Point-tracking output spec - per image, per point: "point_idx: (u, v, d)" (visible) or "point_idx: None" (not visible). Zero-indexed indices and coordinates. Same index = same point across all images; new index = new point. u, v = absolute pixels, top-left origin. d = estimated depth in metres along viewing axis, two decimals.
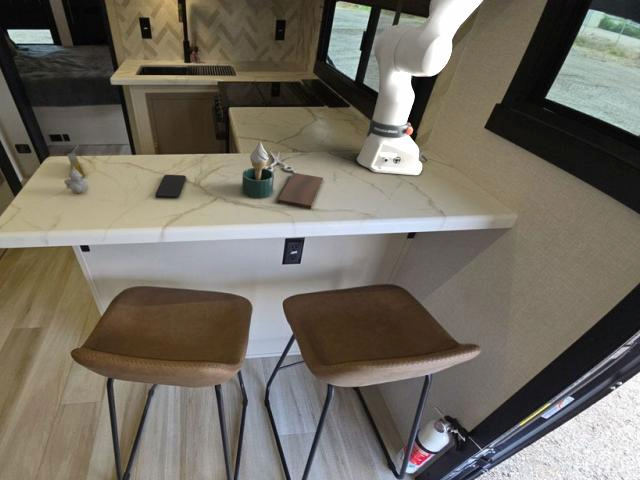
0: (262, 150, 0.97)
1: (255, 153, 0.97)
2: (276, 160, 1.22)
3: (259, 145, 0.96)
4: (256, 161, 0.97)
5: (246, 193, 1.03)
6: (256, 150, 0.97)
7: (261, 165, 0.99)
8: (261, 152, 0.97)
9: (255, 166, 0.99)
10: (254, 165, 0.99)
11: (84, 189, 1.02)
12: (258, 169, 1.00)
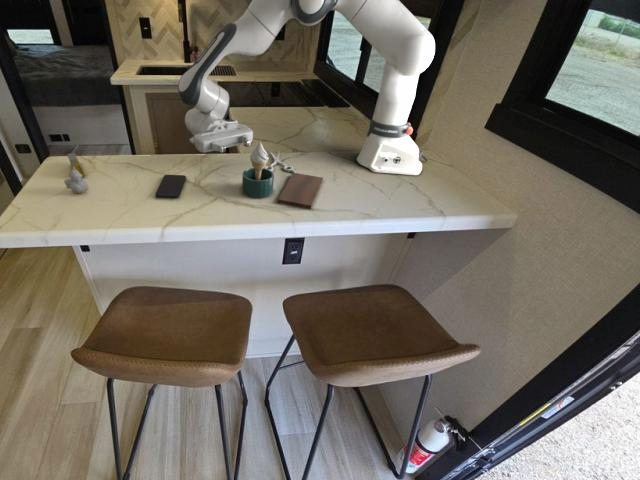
0: (262, 150, 0.97)
1: (255, 153, 0.97)
2: (276, 160, 1.22)
3: (259, 145, 0.96)
4: (256, 161, 0.97)
5: (246, 193, 1.03)
6: (256, 150, 0.97)
7: (261, 165, 0.99)
8: (261, 152, 0.97)
9: (255, 166, 0.99)
10: (254, 165, 0.99)
11: (84, 189, 1.02)
12: (258, 169, 1.00)
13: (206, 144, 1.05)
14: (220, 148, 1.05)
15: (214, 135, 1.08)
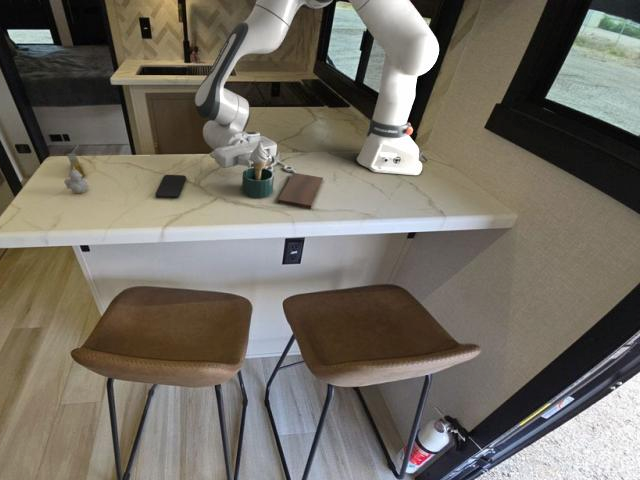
0: (262, 150, 0.97)
1: (255, 153, 0.97)
2: (276, 160, 1.22)
3: (259, 145, 0.96)
4: (256, 161, 0.97)
5: (246, 193, 1.03)
6: (256, 150, 0.97)
7: (261, 165, 0.99)
8: (261, 152, 0.97)
9: (255, 166, 0.99)
10: (254, 165, 0.99)
11: (84, 189, 1.02)
12: (258, 169, 1.00)
13: (228, 159, 0.98)
14: (247, 162, 0.98)
15: (236, 149, 1.01)
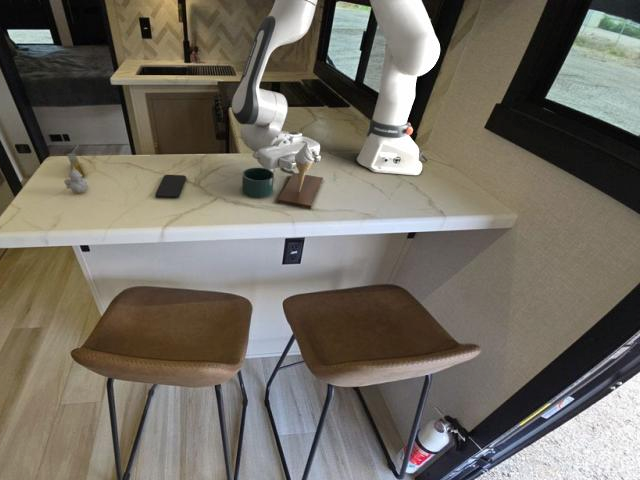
0: (308, 151, 0.94)
1: (301, 154, 0.95)
2: None
3: (306, 146, 0.94)
4: (302, 162, 0.95)
5: (246, 193, 1.03)
6: (302, 151, 0.94)
7: (306, 166, 0.96)
8: (308, 153, 0.94)
9: (300, 167, 0.97)
10: (299, 166, 0.97)
11: (84, 189, 1.02)
12: (303, 170, 0.98)
13: (274, 160, 0.96)
14: (289, 165, 0.95)
15: (280, 150, 0.99)
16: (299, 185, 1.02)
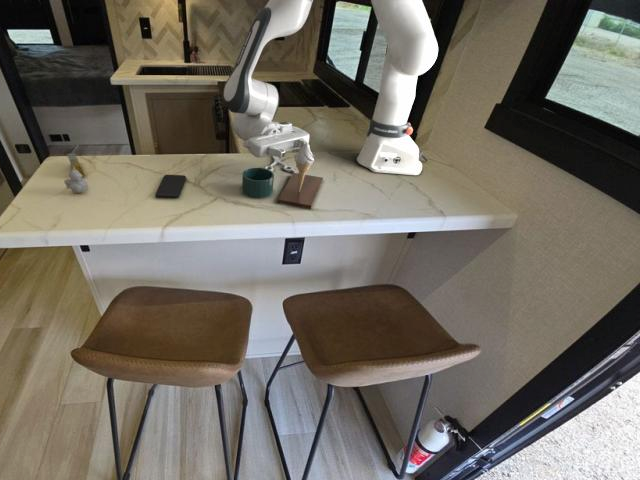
0: (308, 151, 0.94)
1: (301, 154, 0.95)
2: (276, 160, 1.22)
3: (306, 146, 0.94)
4: (302, 162, 0.95)
5: (246, 193, 1.03)
6: (302, 151, 0.94)
7: (306, 166, 0.96)
8: (308, 153, 0.94)
9: (300, 167, 0.97)
10: (299, 166, 0.97)
11: (84, 189, 1.02)
12: (303, 170, 0.98)
13: (263, 149, 0.98)
14: (279, 153, 0.97)
15: (270, 139, 1.00)
16: (299, 185, 1.02)
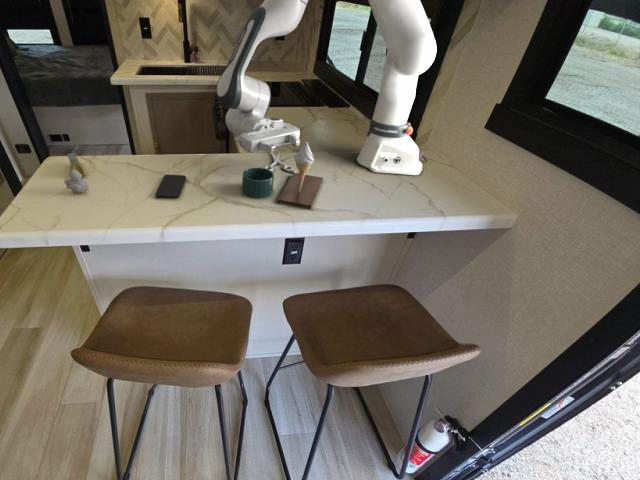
0: (308, 151, 0.94)
1: (301, 154, 0.95)
2: (276, 160, 1.22)
3: (306, 146, 0.94)
4: (302, 162, 0.95)
5: (246, 193, 1.03)
6: (302, 151, 0.94)
7: (306, 166, 0.96)
8: (308, 153, 0.94)
9: (300, 167, 0.97)
10: (299, 166, 0.97)
11: (84, 189, 1.02)
12: (303, 170, 0.98)
13: (254, 144, 1.00)
14: (269, 148, 0.99)
15: (261, 134, 1.03)
16: (299, 185, 1.02)
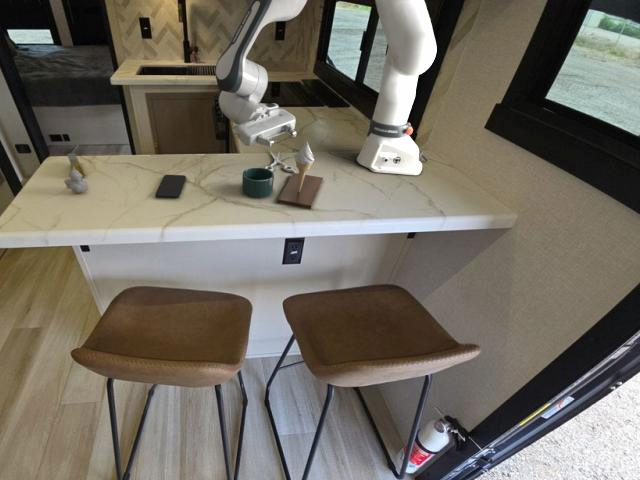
0: (309, 151, 0.94)
1: (301, 154, 0.95)
2: (276, 160, 1.22)
3: (306, 146, 0.94)
4: (302, 162, 0.95)
5: (246, 193, 1.03)
6: (302, 151, 0.94)
7: (306, 166, 0.96)
8: (308, 153, 0.94)
9: (300, 167, 0.97)
10: (299, 166, 0.97)
11: (84, 189, 1.02)
12: (303, 170, 0.98)
13: (253, 138, 1.02)
14: (268, 143, 1.01)
15: (259, 126, 1.04)
16: (299, 185, 1.02)
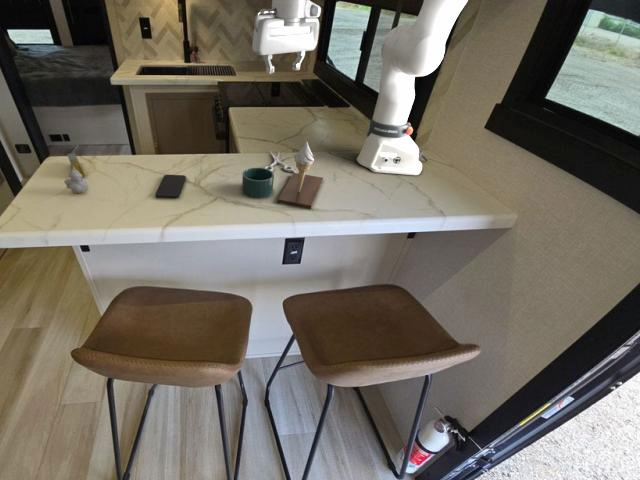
0: (308, 151, 0.94)
1: (301, 154, 0.95)
2: (276, 160, 1.22)
3: (306, 146, 0.94)
4: (302, 162, 0.95)
5: (246, 193, 1.03)
6: (302, 151, 0.94)
7: (306, 166, 0.96)
8: (308, 153, 0.94)
9: (300, 167, 0.97)
10: (299, 166, 0.97)
11: (84, 189, 1.02)
12: (303, 170, 0.98)
13: (262, 54, 0.90)
14: (268, 70, 0.94)
15: (279, 40, 0.89)
16: (299, 185, 1.02)
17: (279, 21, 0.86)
